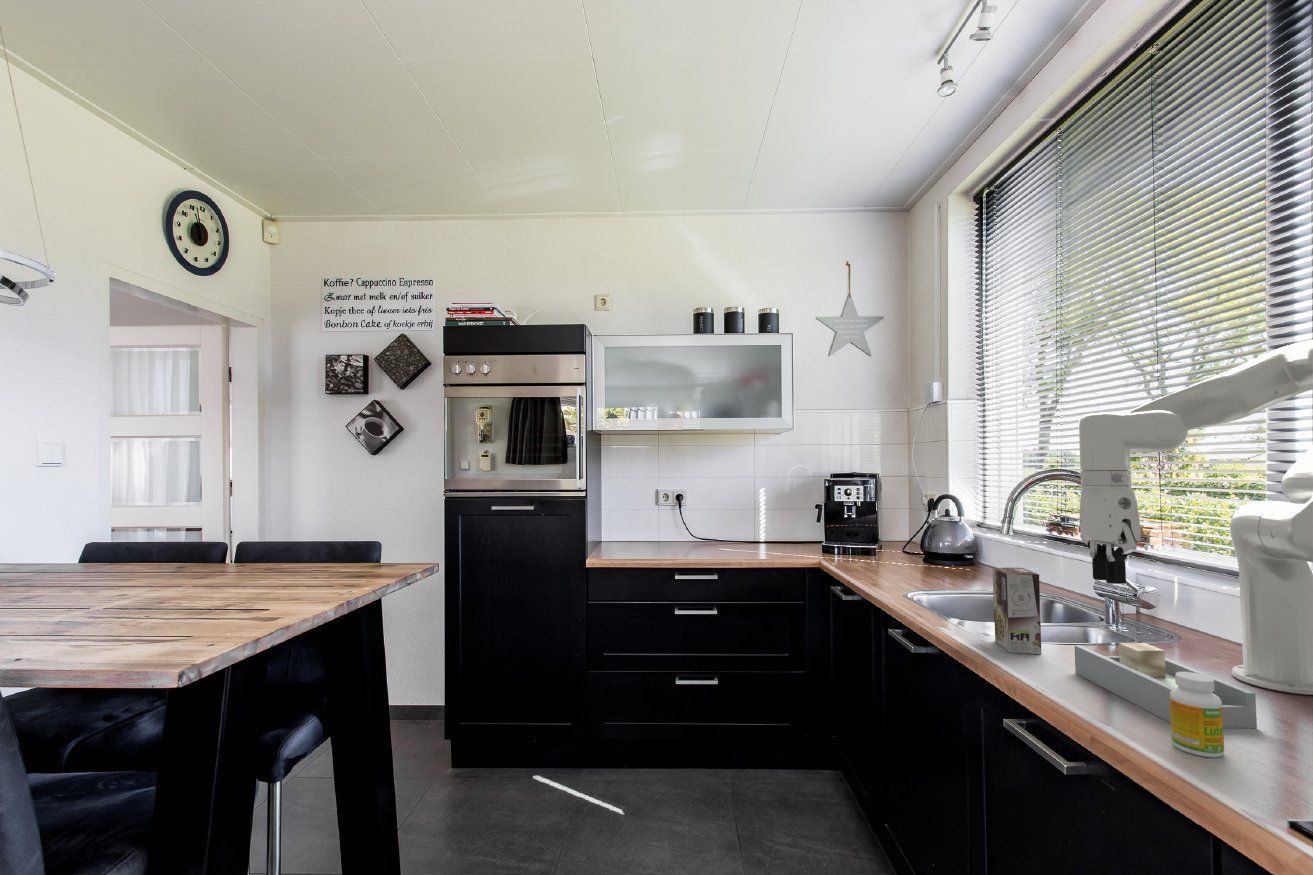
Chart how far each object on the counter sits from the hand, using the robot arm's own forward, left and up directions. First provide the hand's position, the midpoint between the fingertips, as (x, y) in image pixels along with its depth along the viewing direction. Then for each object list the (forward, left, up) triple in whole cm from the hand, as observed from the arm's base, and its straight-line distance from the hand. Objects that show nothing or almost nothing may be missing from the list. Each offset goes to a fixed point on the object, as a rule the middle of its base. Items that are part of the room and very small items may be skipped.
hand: (1109, 580), depth 114 cm
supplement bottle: (+9, +29, -17) cm, 35 cm away
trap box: (0, +10, -17) cm, 20 cm away
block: (0, +7, -14) cm, 16 cm away
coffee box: (+8, -18, -17) cm, 26 cm away
